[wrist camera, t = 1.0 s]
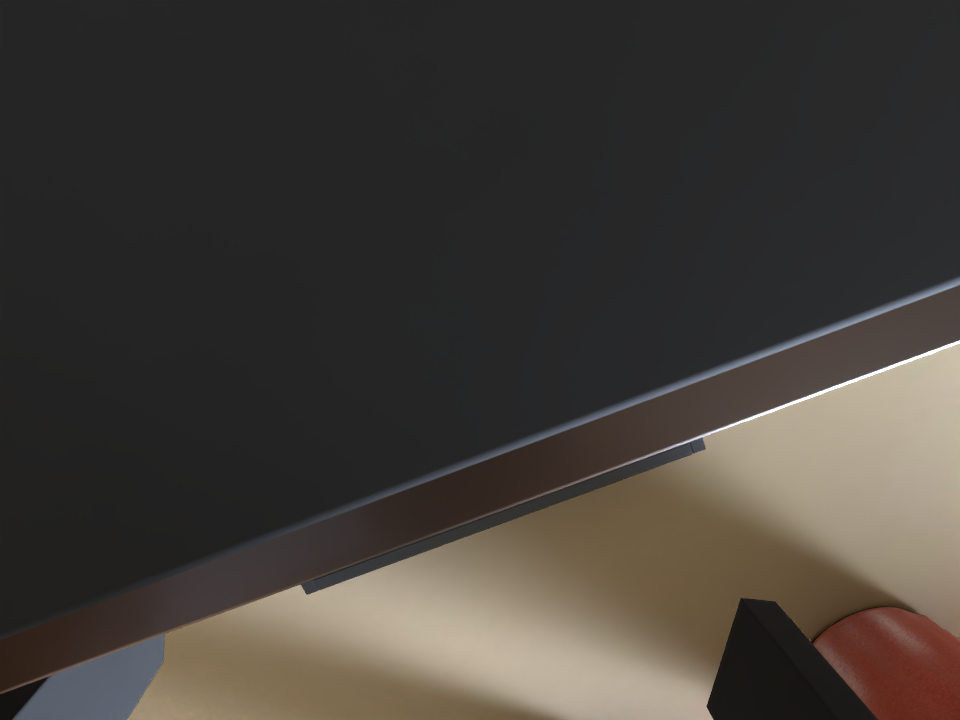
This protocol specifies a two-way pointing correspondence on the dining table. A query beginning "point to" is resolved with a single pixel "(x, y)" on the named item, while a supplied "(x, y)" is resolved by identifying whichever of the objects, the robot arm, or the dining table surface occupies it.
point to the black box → (418, 242)
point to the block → (485, 488)
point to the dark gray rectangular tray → (504, 516)
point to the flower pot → (896, 663)
